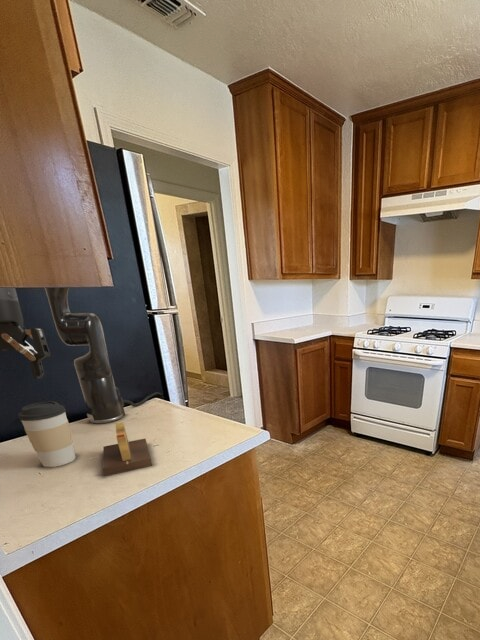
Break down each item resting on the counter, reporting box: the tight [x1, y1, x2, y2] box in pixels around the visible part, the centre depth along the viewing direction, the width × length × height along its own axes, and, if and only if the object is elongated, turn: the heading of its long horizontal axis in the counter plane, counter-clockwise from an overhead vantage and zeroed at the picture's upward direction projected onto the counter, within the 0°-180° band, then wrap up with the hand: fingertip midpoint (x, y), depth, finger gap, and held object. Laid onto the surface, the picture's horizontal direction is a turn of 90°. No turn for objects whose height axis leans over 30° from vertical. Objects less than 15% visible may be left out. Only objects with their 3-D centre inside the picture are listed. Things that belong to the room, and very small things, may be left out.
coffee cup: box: [17, 401, 76, 468], centre depth 86 cm, size 9×9×15 cm
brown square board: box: [90, 438, 160, 477], centre depth 89 cm, size 15×15×2 cm
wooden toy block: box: [115, 422, 131, 461], centre depth 87 cm, size 11×2×6 cm, turn 30°
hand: (15, 379), depth 75 cm, fingers open, 8 cm apart
